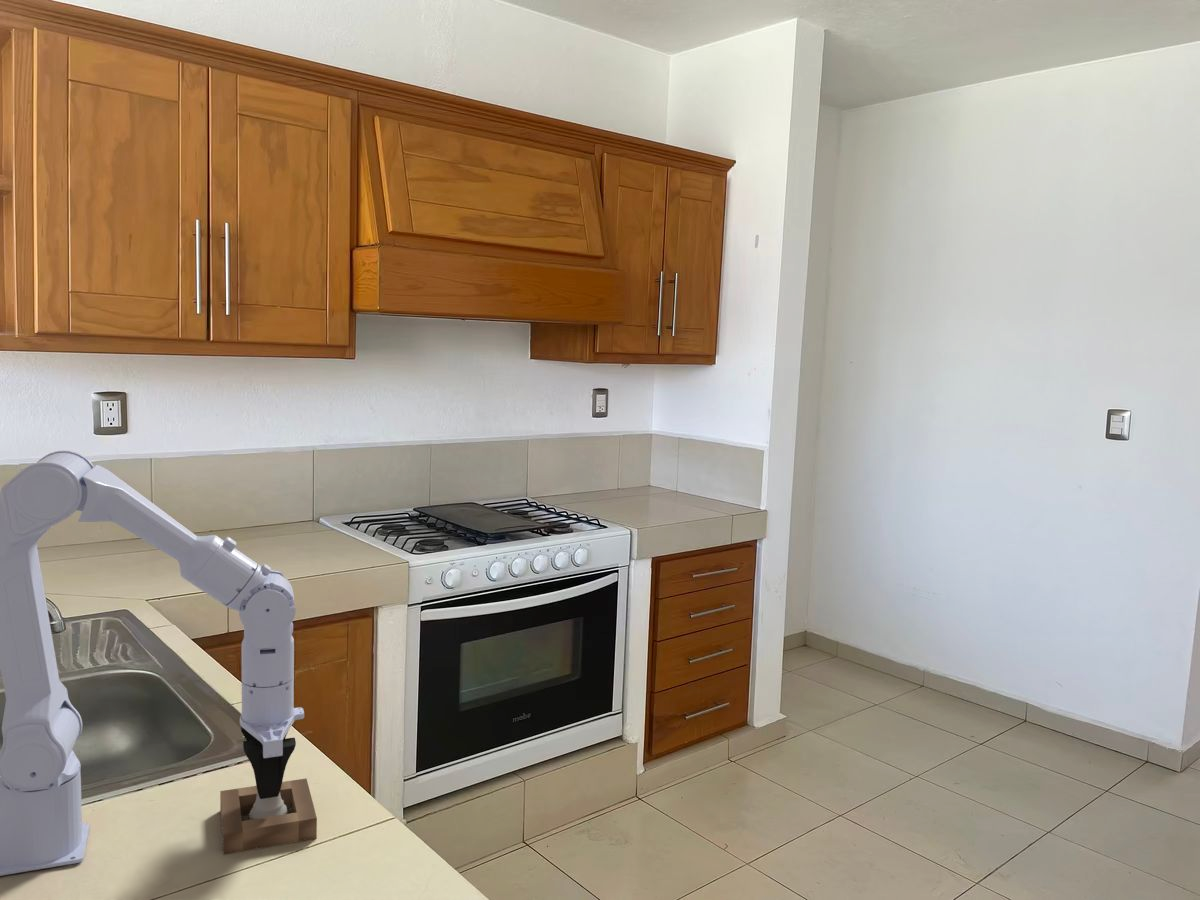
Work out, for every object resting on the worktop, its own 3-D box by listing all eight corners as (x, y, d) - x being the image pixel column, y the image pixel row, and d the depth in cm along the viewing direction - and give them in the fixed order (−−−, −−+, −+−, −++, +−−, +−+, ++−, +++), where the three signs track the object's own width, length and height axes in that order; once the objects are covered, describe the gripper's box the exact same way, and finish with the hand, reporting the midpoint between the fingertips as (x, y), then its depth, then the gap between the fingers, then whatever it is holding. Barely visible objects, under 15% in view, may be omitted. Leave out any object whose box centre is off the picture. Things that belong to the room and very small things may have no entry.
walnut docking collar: (223, 854, 103) (223, 833, 103) (220, 810, 112) (220, 791, 112) (316, 838, 107) (316, 818, 107) (306, 797, 116) (306, 778, 116)
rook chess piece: (276, 836, 107) (276, 771, 106) (240, 831, 108) (240, 766, 107) (295, 816, 111) (295, 754, 110) (260, 812, 112) (260, 749, 111)
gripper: (311, 698, 102) (310, 813, 104) (297, 653, 115) (296, 756, 117) (243, 705, 99) (243, 824, 101) (236, 659, 113) (236, 765, 114)
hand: (267, 788), depth 109 cm, fingers closed on rook chess piece, 3 cm apart
